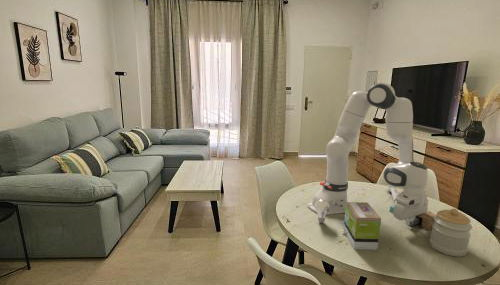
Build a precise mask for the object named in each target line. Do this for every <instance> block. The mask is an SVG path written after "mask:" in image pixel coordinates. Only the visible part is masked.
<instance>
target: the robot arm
mask: <svg viewBox="0 0 500 285" xmlns="http://www.w3.org/2000/svg"><path fill="white" fill-rule="evenodd" d="M372 107H376V108H379V109H383V110H385V112H386V118H385V120H386V121H385V131H386V134H387V136H388V137H389V138H390V139H391V140H393V141H394V142H396V143H397V146H398V161H397V163H396V164H393V165H391V166H389V167H386V169H384V171H383V179H384V181H385V182H386V184H387V185H388V186H389V185H392V186H396V187H400V188H401V187H402V188H403V189H402V190H403V191H401V192H400V193H398V194H399V195H398V196H396V197H395V201H397V202H396V203H394V205H395V206H394V205H393V206H394V213H392V215H393V218H395V219H397V220H399V221H403V220H405V219H406V220H405V225H407V226H409V225H411V224H413V221H414V219H415V217H416V215H420V214H423V213H426V212H427V211H429V200H428V196H427V194H426V186H427V183H428V176H429V172H428V167H427V166H426V165H425V164H423V163H421V162H418V161H414V140H413V139H414V137H413V127H414V126H413V125H414V124H413V123H414V110H413V103H412V101H411V99H408V98H406V97H398V96H397V93H396V89H395V88H394V87H393V86H392V85H391V84H389V83H385V82H380V83H375V84H373V85H372V86H370V87H369V89H368V90H367V91H363V90H362V91H361V90H356V91H354V92H352V94H351V95H350V97H349V98H348V100H347V102H346V103H345V106H344V108H343V110H342V113H341V115H340V117H339V120H338V122H337V126H336V130H335V133H334V136H333V137H332V138H331V140H330V141H328V142H327V144H326V147H325V154H326V163H327V164H326V177H325V178H326V179H325V181H320V182H319V186H322V187H321V188H320V189H319V190H318V191H317V192H315V194H314V195H313V196H312V200H311V202H308V203H307V207H308V209H310V210H311V211H312V212H315V213H316V214H317V211H316V209H315V204H316V202H317V201H318V200H320V199H324V200H326V201H327V202H328V203H329V205H330V209H329V212H328V213H327V214H326V216H330V215H336V214H345V210H346V202H348V188H349V182H348V181H349V180H348V179H349V154H350V152H351V151H352V149H353V147H354V144H355V142H356V139H357V137H358V135H359V132H360V129H361V127H362V126H363V123H364V121H365V118H366V116H367V114H368V111H369V110H370V108H372Z"/></svg>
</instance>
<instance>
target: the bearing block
mask: <svg viewBox="0 0 500 285" xmlns="http://www.w3.org/2000/svg"><path fill="white" fill-rule="evenodd" d="M428 211H429V210H427V212H426V213H423V214H420V215H416V216H418V217H421V218H423V220H422V223H421V227H420V228H422V229H424V230H427V231H431V230H432V227H433V226H432V225H433V223H434V222H435V221H434V216H436V215H437V214H435V213H433V212H432V213H430V212H431V211H429V212H428ZM404 220H405V221H406V219H404Z"/></svg>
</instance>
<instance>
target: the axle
mask: <svg viewBox="0 0 500 285" xmlns="http://www.w3.org/2000/svg"><path fill="white" fill-rule="evenodd" d="M427 211H428V212H430V213H433V212H431V211H429V210H427ZM422 220H423V218H421V217H418V216H416V217H415V219H414V221H413V224H411V225H408V226H409V227H413V226H416V225H419V224H422Z"/></svg>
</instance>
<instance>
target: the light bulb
mask: <svg viewBox="0 0 500 285" xmlns="http://www.w3.org/2000/svg"><path fill="white" fill-rule="evenodd" d="M315 209H316V211H317V213H316V214H317V221H318V222H319V224H323V223H325V221H326V220H325V219H326V216H327V215H326V214H327V213H328V212H329V209H330V205H329V203H328V202H327V201H326V200H324V199H320V200H318V201H317V202H316V204H315Z"/></svg>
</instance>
